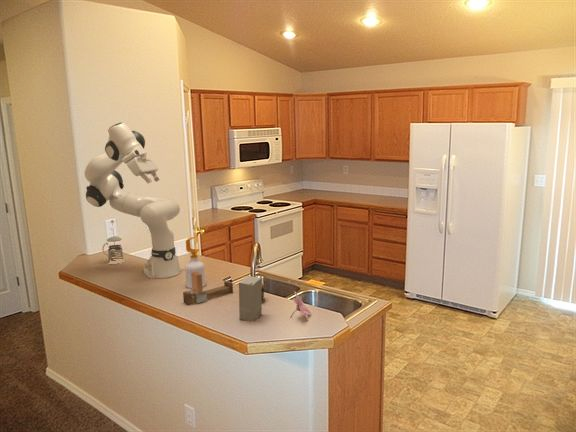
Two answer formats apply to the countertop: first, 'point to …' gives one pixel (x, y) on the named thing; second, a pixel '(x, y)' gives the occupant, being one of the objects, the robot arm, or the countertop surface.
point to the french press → (114, 247)
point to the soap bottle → (193, 265)
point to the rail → (210, 293)
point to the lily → (301, 306)
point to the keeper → (198, 288)
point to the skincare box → (250, 298)
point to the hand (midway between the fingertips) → (153, 181)
